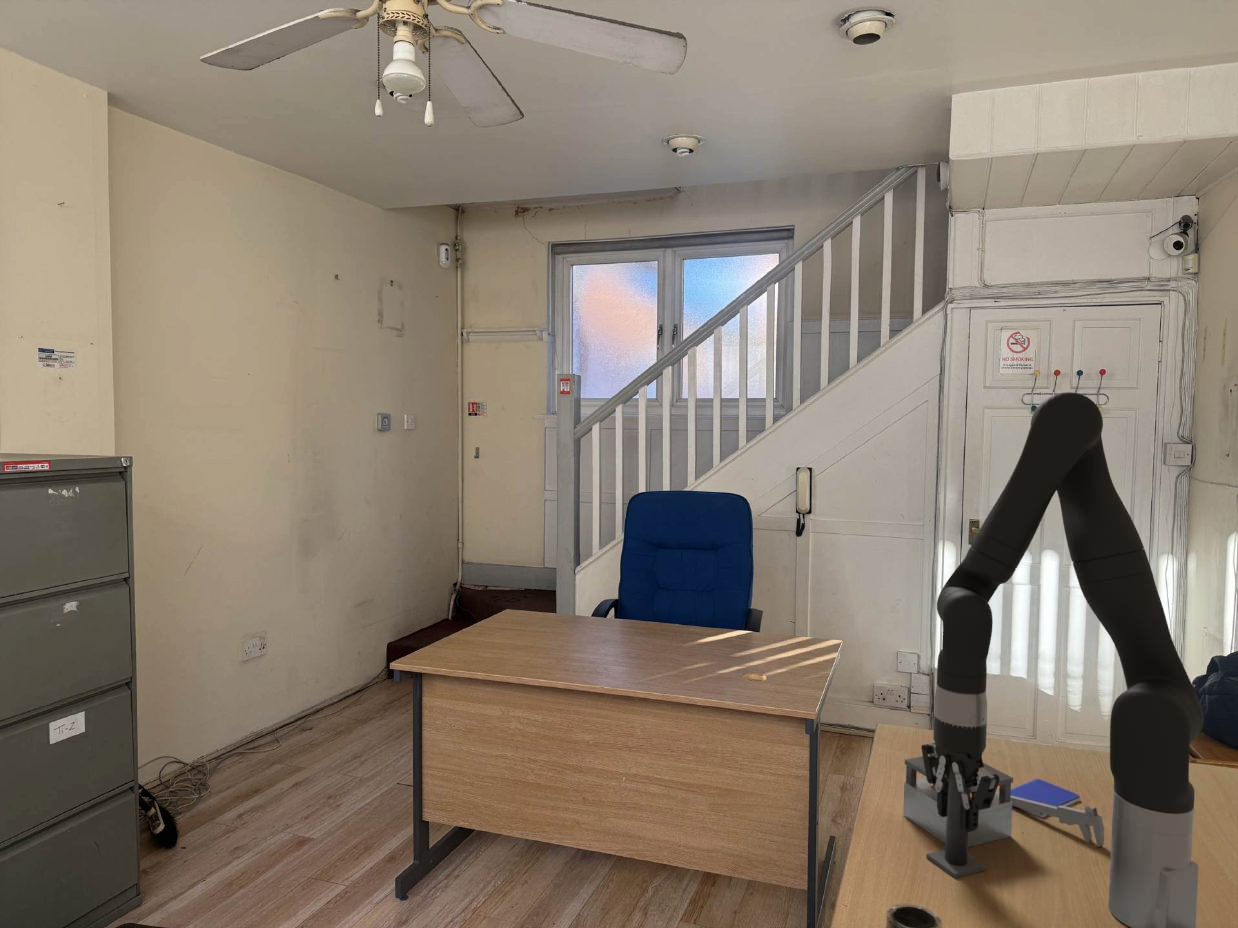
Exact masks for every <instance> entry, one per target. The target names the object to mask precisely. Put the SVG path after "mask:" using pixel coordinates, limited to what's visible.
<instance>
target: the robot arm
mask: <svg viewBox="0 0 1238 928" xmlns="http://www.w3.org/2000/svg"><path fill="white" fill-rule="evenodd" d="M1103 419H1104V418H1103V416H1102V412H1101V411H1100V408H1099V407H1098V405H1097V404H1096V403H1095V402H1094V401H1093V399H1091V398H1089V397H1088V396H1087V395H1084V394H1082V393H1078V392H1069V391H1067V392H1060V393H1056V394H1053V395H1051V396H1049V397H1047V398H1045V400H1043V401H1042V402H1041V403H1040V404H1039V405H1038V406H1037V407H1036V408H1035V410H1034V412H1033V414H1032V416H1031V419H1030V428H1029V430H1028V434H1027V437H1026V440H1025V443H1024V446H1023V448H1022V451H1021V454H1020V456H1019V459H1018V461H1017V464H1016V465H1015V467H1014V470H1013V472H1012V473H1011V476H1010V477H1009V480H1008V481H1007V483H1006V485H1005V486H1004V488H1003V490H1002V491H1001V493H1000V495H999V497H998V498H997V500H996V502H995V503H994V505H993V507H992V508H991V510H990V511H989V513H988V515H986V518H985V519H984V521H983V523H982V525H981V527H980V528H979V530H978V532H977V533H976V536H975V538H974V539H973V541H972V543H971V545H970V547H969V549H968V551H967V553H966V555H965V557H964V558H963V559H962V561H961V562H960V564H959V565H958V566H957V567H956V568H955V570H954V571H953V573H952V574H951V575H950V577H949V578H948V579H947V581H946V582H945V584H944V586H943V587H942V589H940V592H939V595H938V598H937V602H936V610H937V613H938V616H939V618H940V620H941V621H942V641H941V642H942V647H941V648H942V649H940V651H939V653H938V656H937V666H936V667H937V668H936V671H937V672H936V688H935V692H934V693H935V694H934V705H933V707H934V708H933V738H932V739H933V742H931V743H926V744H922V745H921V753H922V756H923V760H924V766H925V771H926V776H925V778H926V777H927V781H928V783H930V784H933V785H934V786H935V790H936V791H937V809H938V814H939V815H940V816H941V817H947V803H948V783H949V765H950V766H952V767H953V772H954V773H955V776H956V782H957V787H958V791H959V792H960V793H961V795H962V801H963V806H964V807H963V810H962V830H964V831H965V832H971V831H975V830H976V829H977V827H978V815H979V810H983V809H987V808H990V807H991V805H992V802H993V799H994V796H995V793H996V792H997V790H998V787H999V786H998V784H999V781H1000V779H999V776H998V775H997V774H992V775H991V774H990V773H989V772H988V771H987V770H985V769H984V763H985V762H984V761H983V753H984V752H985V749H986V748H987V727H988V726H987V723H988V720H987V719H988V699H987V673H988V670H987V659H988V657H989V656H988V655H989V650H990V646H991V639H992V634H993V623H994V621H993V619H994V618H993V611H992V608H991V606H990V604H989V602H990V600H991V599H992V597H993V596H994V594H995V593H996V591H997V590H998V588H999V586H1001V585H1003V584H1005V583H1007V582H1009V580H1010V579H1011V578H1012V576H1013V575H1014V574H1015V572H1016V569H1017V568H1018V567H1019V565H1020V562H1022V560H1023V558H1024V556H1025V554H1026V552H1027V551H1028V549H1029V547H1030V545H1031V543H1032V541H1033V539H1034V537H1035V535H1036V533H1037V530H1038V529H1039V526H1040V525H1041V522H1042V519H1043V517H1044V516H1045V513H1046V512H1047V509H1048V506H1049V505H1050V503H1051V501H1052V499H1053V497H1054V495H1055V494H1056V492H1057V496H1058V500H1059V504H1060V510H1061V517H1062V523H1063V528H1064V529H1063V530H1064V533H1065V540H1066V543H1067V548H1068V552H1069V556H1070V559H1071V562H1072V565H1073V568H1074V573H1075V575H1076V578H1077V582H1078V585H1079V587H1080V588H1079V589H1080V591H1081V593H1082V595H1083V597H1084V599H1085V601H1086V603H1087V604H1088V606H1089V607H1090V609H1091V610H1092V612H1093V614H1094V615H1095V617H1096V619H1098V621H1099V622H1100V624H1101V625H1102V626H1103V628H1104V630H1105V631H1106V632H1107V635H1109V637H1110V639H1111V641H1112V642H1113V644H1114V647H1115V649H1116V651H1117V654H1118V657H1119V661H1120V664H1121V667H1122V672H1123V676H1124V680H1125V686H1126V690H1125V691H1123V692H1122V693H1120V694H1119V695H1118V696H1117V698H1116V699H1115V701H1114V703H1113V704H1112V708H1111V712H1110V719H1109V720H1110V722H1109V723H1110V724H1109V766H1110V767H1109V768H1110V771H1111V774H1112V778H1113V799H1112V800H1113V801H1112V818H1111V820H1112V822H1111V844H1110V861H1109V862H1110V865H1109V886H1108V887H1109V889H1108V893H1109V894H1108V909H1109V912H1110V913H1111V914H1112V915H1113V916H1114V917H1115V918H1116V919H1117V920H1118V921H1119V922H1121V923H1123V924H1124V925H1126V926H1128V927H1129V928H1196V924H1197V905H1198V904H1197V903H1198V886H1199V882H1198V881H1199V870H1200V869H1199V865H1198V863H1197V862H1195V861H1193V860H1192V854H1193V852H1192V850H1193V830H1194V829H1193V828H1194V809H1195V789H1194V786H1193V785H1192V783H1191V782H1190V772H1189V771H1190V749H1191V747H1190V746H1191V743H1192V742H1193V741H1194V740H1195V739H1196V738H1197V737H1198V736H1199V735H1200V734H1201V732H1202V729H1203V725H1204V721H1205V718H1204V710H1203V707H1202V703H1201V701H1200V699H1199V697H1198V695H1197V692H1196V690H1195V688H1194V686H1193V683H1192V681H1191V679H1190V677H1189V675H1188V673H1187V671H1186V669H1185V667H1184V664H1183V662H1182V659H1181V658H1180V656H1179V654H1178V652H1177V648H1176V646H1175V644H1174V641H1173V638H1172V635H1171V632H1170V628H1169V624H1168V621H1167V617H1166V614H1165V610H1164V607H1163V603H1162V601H1161V596H1160V593H1159V591H1158V589H1157V584H1156V581H1155V577H1154V574H1153V570H1152V567H1151V564H1150V561H1149V558H1148V555H1147V552H1146V549H1145V547H1144V544H1143V541H1142V539H1141V536H1140V534H1139V532H1138V530H1137V527H1136V526H1135V524H1134V521H1133V519H1132V517H1131V516H1130V513H1129V511H1128V510H1127V508H1126V506H1125V505H1124V503H1123V501H1122V499H1121V497H1120V496H1119V494H1118V492H1117V489H1116V487H1115V485H1114V483H1113V480H1112V477H1111V474H1110V469H1109V467H1108V462H1107V458H1106V453H1105V449H1104V444H1103V438H1102V433H1103V427H1104V420H1103ZM933 767H935V773H936V774H935V775H933ZM967 783H971V785H969V786H966V785H965V784H967ZM970 792H971V794H972V800H970Z"/></svg>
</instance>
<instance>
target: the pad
mask: <svg viewBox="0 0 1238 928" xmlns="http://www.w3.org/2000/svg"><path fill="white" fill-rule="evenodd" d="M925 856H926V859H927V860H929V861H931V863H933V864H935V865H936V866H938V867H939V868H940V869H941V870H943V871H945V872H946V873H947V874H949V875H950V876H952V878H954V879H957V878H961V877H965V876H969V875H971V874H976V873H979V872H984V871H986V866H985V865H984V864H982V863H981V862H979V861H978V860H976V859H975V858H973V857H972V856H970V855H969V854H967V864H966V865H964V866H957V865H953V864H951V863H949V862H947V861H946V860H945V848H944V849H940V850H937V851H933V852H929V853H926V854H925Z"/></svg>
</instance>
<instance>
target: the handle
mask: <svg viewBox="0 0 1238 928" xmlns="http://www.w3.org/2000/svg"><path fill="white" fill-rule="evenodd" d="M965 785H966V786H969V785H971V783H967V784H965ZM970 794H971V792H970ZM963 807H964V806H963V801H962V795H961V793H960V792H959V791H958V787H957V782H956V776H955V773H954V772H953V767H952V766H950V765H949V783H948V803H947V823H946V843H944V844H945V848H944V849H945V860H946V861H947V862H949V863H951V864H953V865H957V866H964V865H966V864H967V855H968V850H969V847H968V833H969V832H965V831H964V830H962V810H963Z"/></svg>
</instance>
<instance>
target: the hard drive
mask: <svg viewBox="0 0 1238 928" xmlns="http://www.w3.org/2000/svg"><path fill="white" fill-rule="evenodd" d="M1011 796H1015V797H1019V798H1023V799H1027V800H1031V801H1035V802H1039V803H1043V804H1047V805H1051V806H1055V807H1058V806H1060V805H1061V806H1065V807H1069V806H1071V805H1073V804H1075V803H1077V802H1079V801H1080V800H1081V799H1080V798H1081V796H1080V795H1079V794H1077V793H1076V792H1072V791H1071V790H1068V789H1066V788H1063V787H1060V786H1058V785H1055V784H1052V783H1050V782H1048V781H1046V780H1042V779H1041V778H1036V779H1033V780H1031V781H1028V782H1025V783H1023V784H1021V785H1018V786H1016V787H1013V788H1011ZM1017 808H1018V809H1021V810H1023V811H1025V812H1028V813H1029V814H1032V815H1034V816H1037V817H1038V818H1044V817H1047V816H1048V815H1046V814H1042V813H1038V812H1035V811H1031V810H1027V809H1023V808H1019V807H1017Z"/></svg>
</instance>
